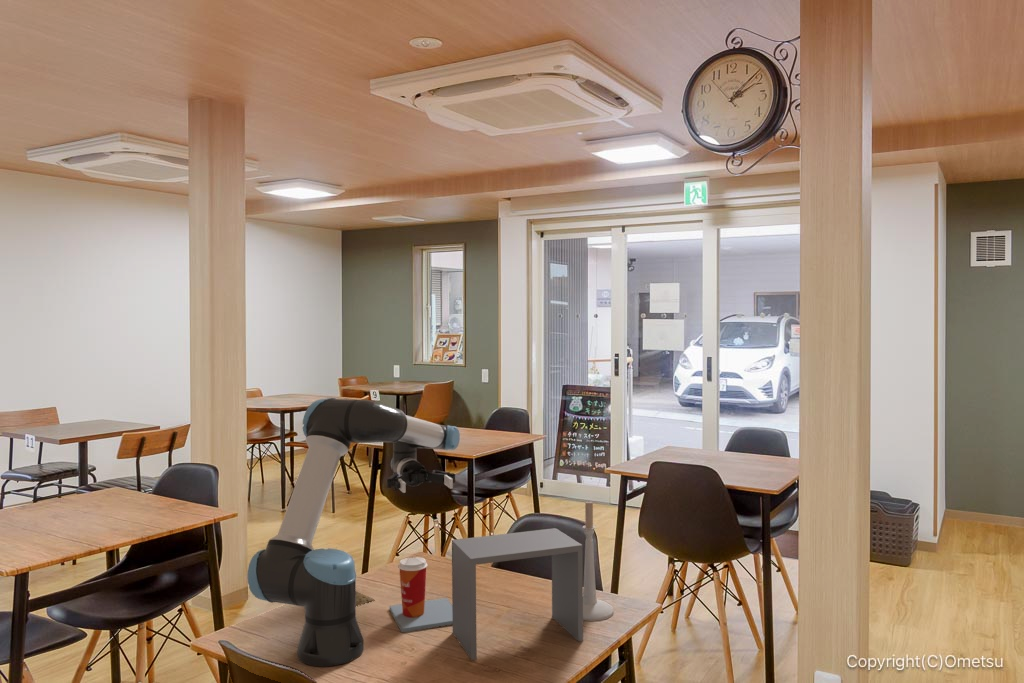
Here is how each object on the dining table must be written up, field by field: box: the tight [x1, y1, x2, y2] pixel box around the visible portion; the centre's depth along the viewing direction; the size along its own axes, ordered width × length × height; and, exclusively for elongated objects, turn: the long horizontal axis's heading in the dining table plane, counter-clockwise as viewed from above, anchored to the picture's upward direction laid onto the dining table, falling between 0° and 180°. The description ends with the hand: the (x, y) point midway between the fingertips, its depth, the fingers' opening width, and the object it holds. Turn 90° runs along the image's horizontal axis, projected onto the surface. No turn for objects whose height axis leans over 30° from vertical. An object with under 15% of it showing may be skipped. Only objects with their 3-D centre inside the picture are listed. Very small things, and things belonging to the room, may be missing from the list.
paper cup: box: [397, 556, 428, 617], centre depth 193 cm, size 8×8×14 cm
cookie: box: [356, 590, 376, 607], centre depth 206 cm, size 12×12×1 cm
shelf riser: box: [451, 527, 584, 661], centre depth 181 cm, size 28×16×24 cm, turn 110°
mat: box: [389, 597, 453, 633], centre depth 194 cm, size 16×16×1 cm
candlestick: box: [582, 500, 615, 622], centre depth 196 cm, size 13×13×30 cm
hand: (428, 486), depth 206 cm, fingers open, 13 cm apart
